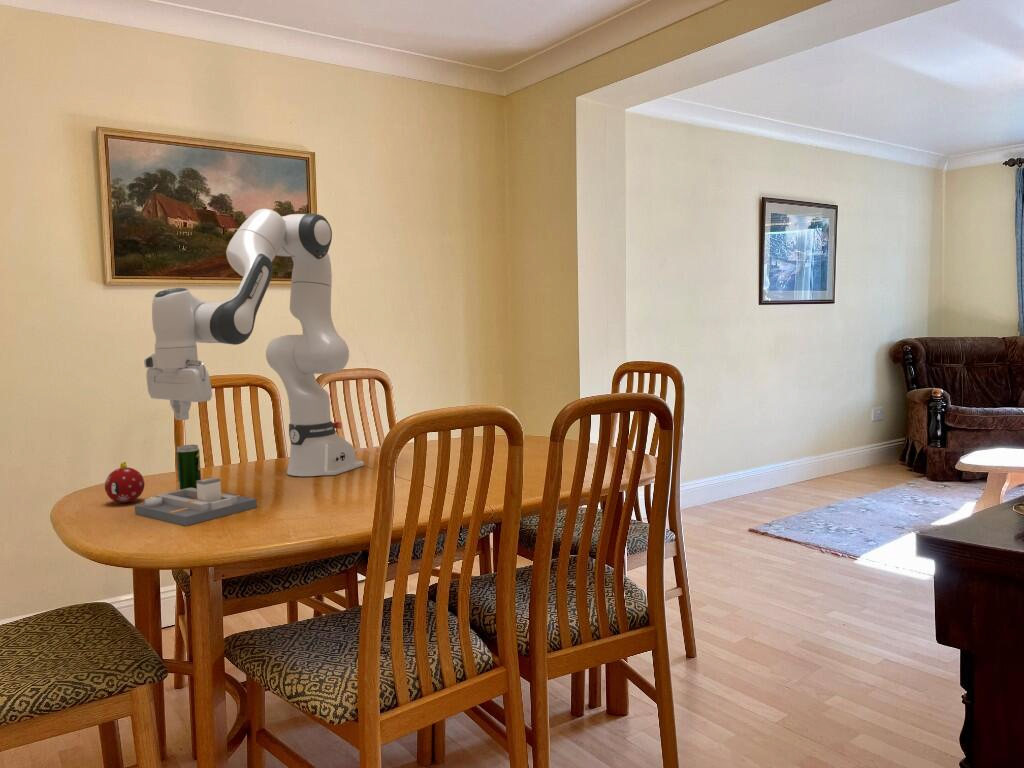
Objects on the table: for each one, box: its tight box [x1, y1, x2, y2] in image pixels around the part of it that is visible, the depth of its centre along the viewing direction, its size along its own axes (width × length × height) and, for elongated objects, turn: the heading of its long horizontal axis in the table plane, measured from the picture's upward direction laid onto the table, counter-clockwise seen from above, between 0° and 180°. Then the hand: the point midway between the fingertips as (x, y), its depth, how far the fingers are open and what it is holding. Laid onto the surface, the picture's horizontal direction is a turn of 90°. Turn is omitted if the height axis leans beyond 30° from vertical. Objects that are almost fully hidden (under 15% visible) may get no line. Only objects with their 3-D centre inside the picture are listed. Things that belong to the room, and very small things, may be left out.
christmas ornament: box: [104, 461, 145, 504], centre depth 185 cm, size 9×9×10 cm
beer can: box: [176, 444, 202, 490], centre depth 193 cm, size 5×5×12 cm
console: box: [134, 488, 258, 527], centre depth 175 cm, size 18×20×4 cm
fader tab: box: [196, 476, 222, 503], centre depth 172 cm, size 4×3×6 cm
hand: (182, 419), depth 176 cm, fingers closed
